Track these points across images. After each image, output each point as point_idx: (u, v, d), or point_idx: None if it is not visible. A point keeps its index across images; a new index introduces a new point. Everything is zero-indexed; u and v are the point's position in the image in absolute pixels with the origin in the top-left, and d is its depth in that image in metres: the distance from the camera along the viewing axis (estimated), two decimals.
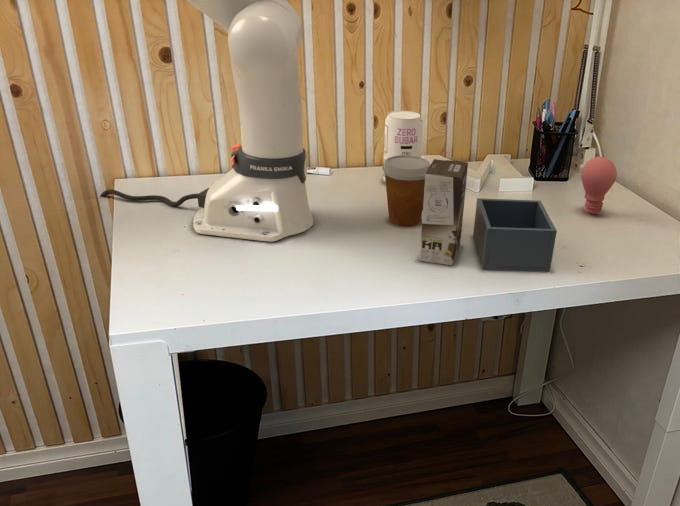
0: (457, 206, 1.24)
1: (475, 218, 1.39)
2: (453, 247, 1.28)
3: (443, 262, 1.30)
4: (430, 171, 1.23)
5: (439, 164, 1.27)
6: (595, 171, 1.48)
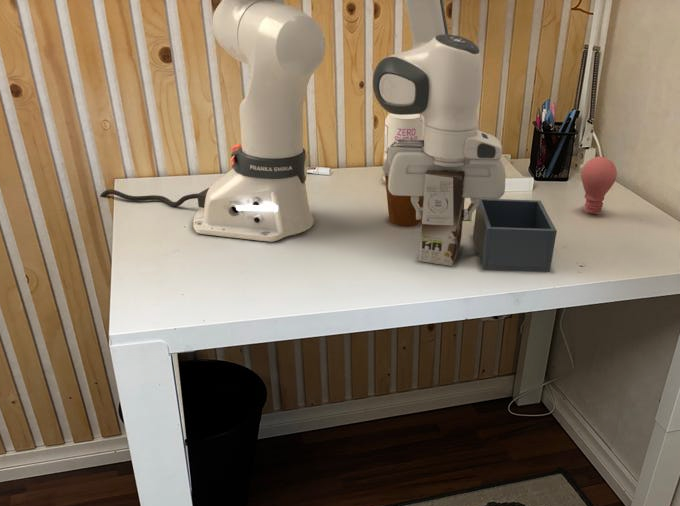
0: (457, 206, 1.24)
1: (475, 218, 1.39)
2: (453, 247, 1.28)
3: (443, 263, 1.30)
4: (430, 171, 1.23)
5: None
6: (595, 171, 1.48)
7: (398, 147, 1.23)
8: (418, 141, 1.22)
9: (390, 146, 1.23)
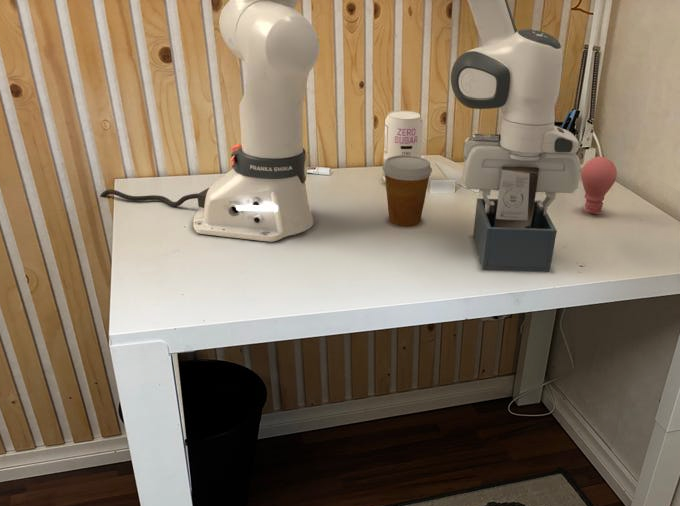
0: (532, 202, 1.26)
1: (475, 218, 1.39)
2: None
3: None
4: (506, 167, 1.25)
5: None
6: (595, 171, 1.48)
7: (475, 141, 1.24)
8: (495, 135, 1.23)
9: (467, 140, 1.24)
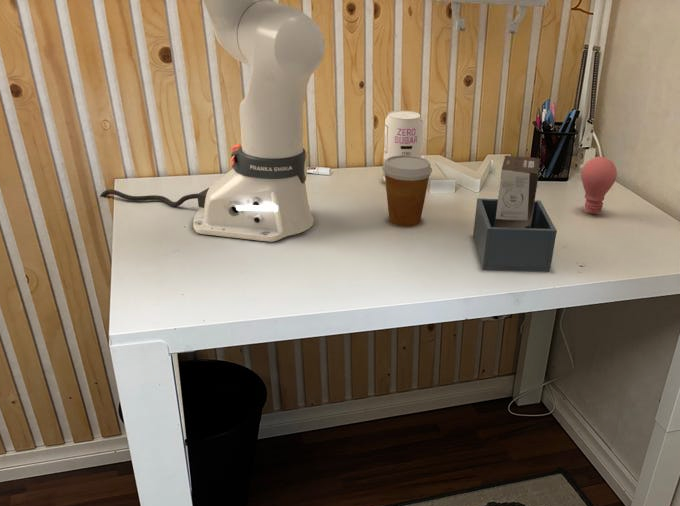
0: (532, 202, 1.26)
1: (475, 218, 1.39)
2: None
3: None
4: (506, 167, 1.25)
5: (513, 160, 1.29)
6: (595, 171, 1.48)
7: None
8: None
9: None
